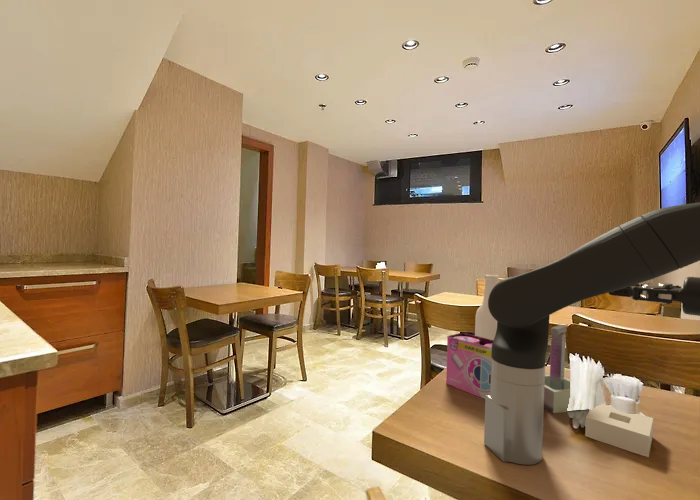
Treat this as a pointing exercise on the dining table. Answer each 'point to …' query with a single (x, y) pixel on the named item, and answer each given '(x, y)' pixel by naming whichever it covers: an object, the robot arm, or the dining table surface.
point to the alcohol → (486, 312)
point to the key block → (620, 429)
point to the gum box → (469, 363)
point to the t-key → (557, 357)
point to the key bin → (556, 396)
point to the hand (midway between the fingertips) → (614, 288)
